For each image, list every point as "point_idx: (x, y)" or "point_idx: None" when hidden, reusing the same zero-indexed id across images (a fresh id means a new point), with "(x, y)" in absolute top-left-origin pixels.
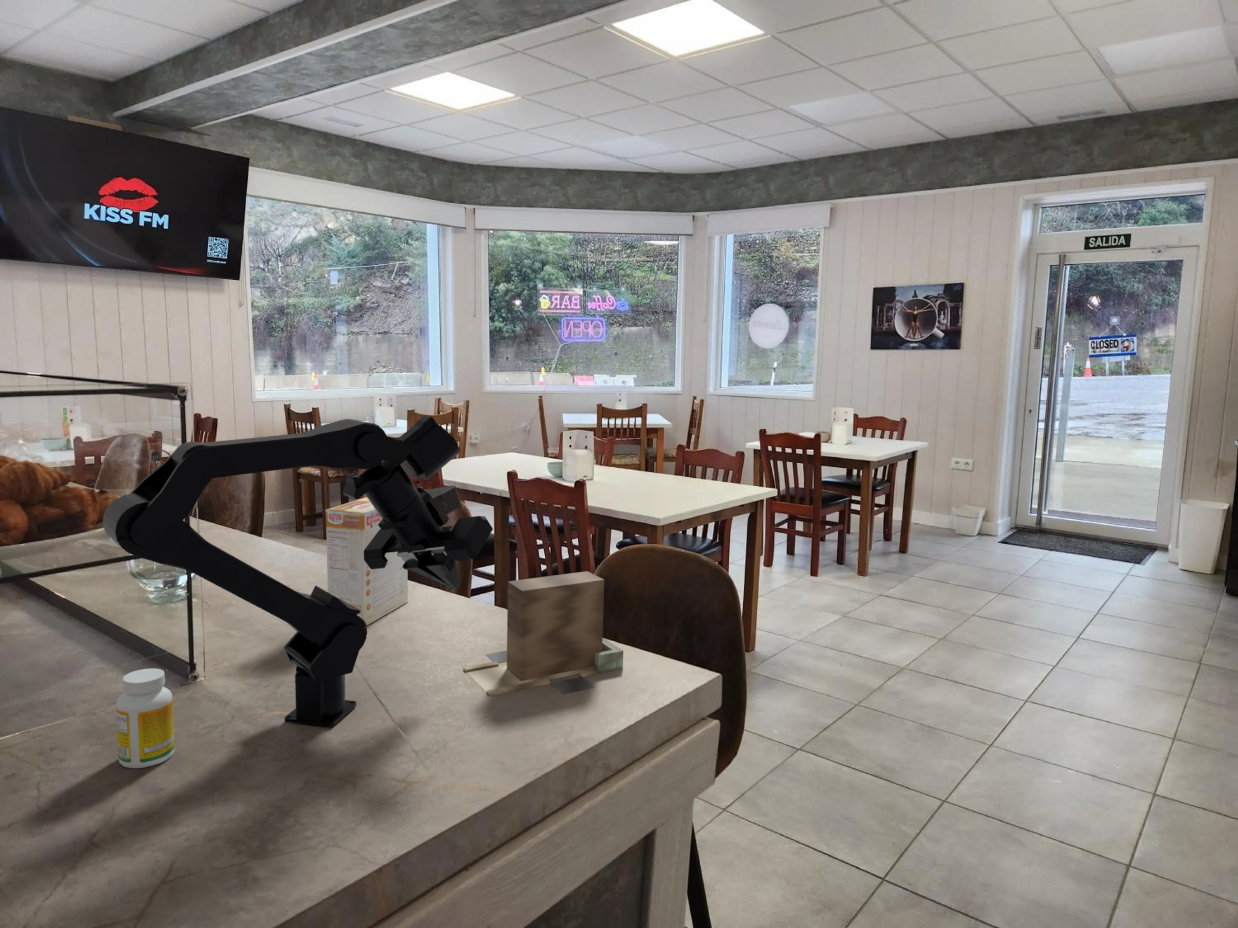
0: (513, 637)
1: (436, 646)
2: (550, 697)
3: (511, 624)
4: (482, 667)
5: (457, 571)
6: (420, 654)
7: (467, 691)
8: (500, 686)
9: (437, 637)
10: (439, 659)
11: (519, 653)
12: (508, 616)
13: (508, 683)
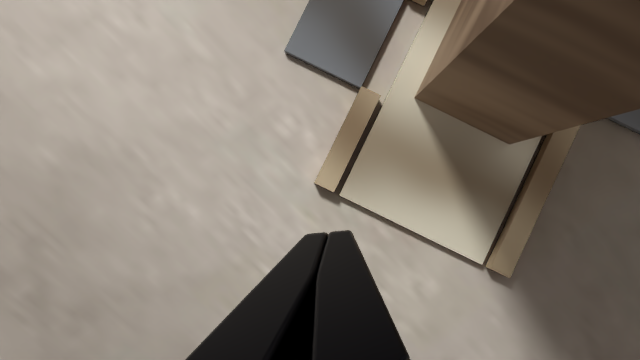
0: (505, 91)
1: (99, 83)
2: (633, 171)
3: (506, 68)
4: (357, 143)
5: (379, 295)
6: (108, 164)
7: (424, 281)
8: (489, 211)
9: (42, 23)
10: (187, 157)
11: (537, 125)
12: (485, 44)
13: (492, 180)
